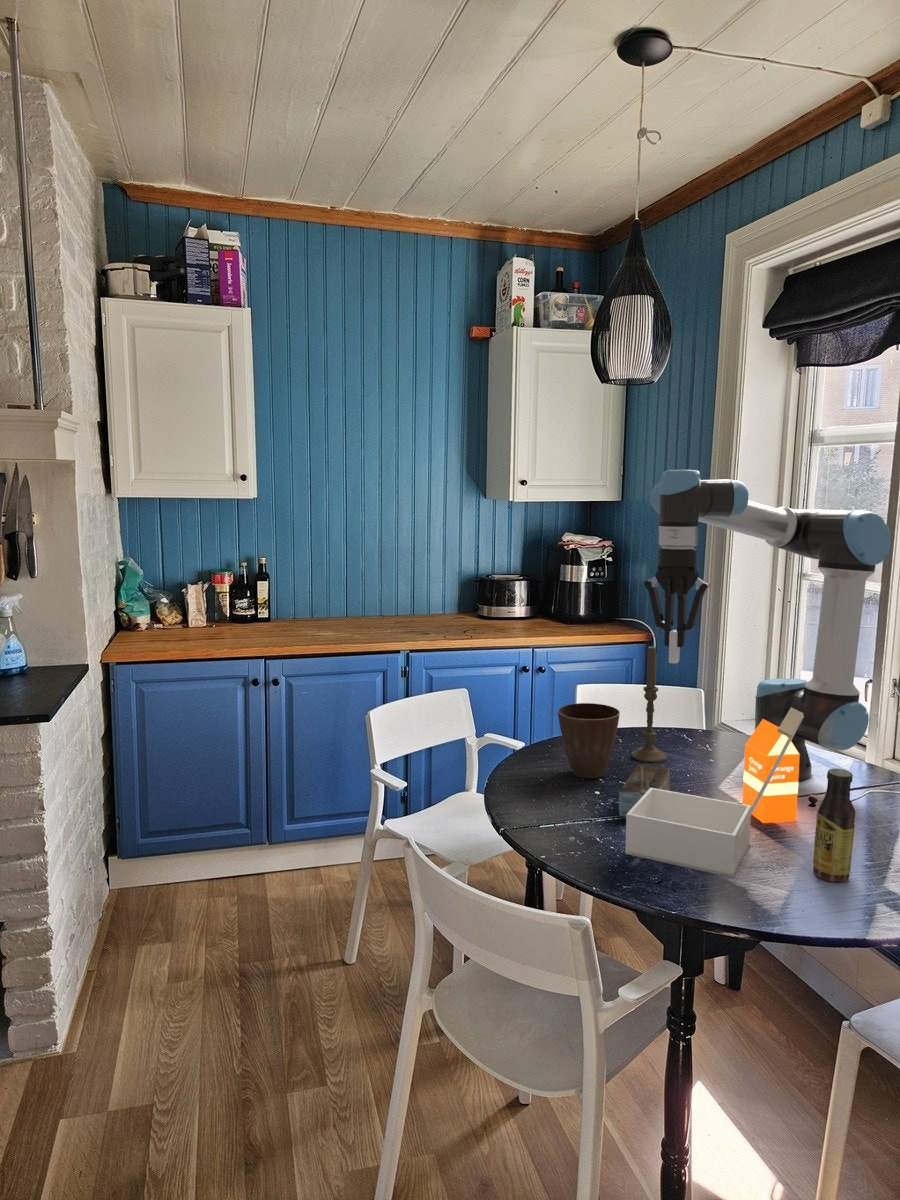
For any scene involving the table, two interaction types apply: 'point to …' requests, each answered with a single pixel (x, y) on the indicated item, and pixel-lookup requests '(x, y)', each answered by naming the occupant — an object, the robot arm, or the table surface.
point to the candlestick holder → (650, 715)
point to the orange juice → (782, 786)
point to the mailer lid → (789, 730)
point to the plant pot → (588, 736)
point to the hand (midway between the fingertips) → (674, 662)
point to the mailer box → (688, 831)
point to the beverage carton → (642, 785)
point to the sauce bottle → (835, 829)
